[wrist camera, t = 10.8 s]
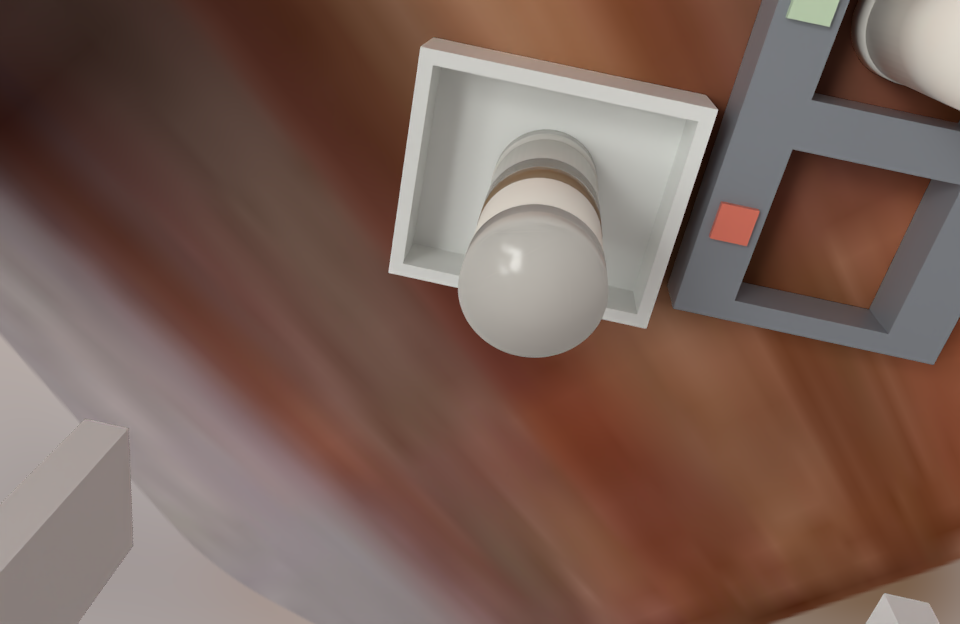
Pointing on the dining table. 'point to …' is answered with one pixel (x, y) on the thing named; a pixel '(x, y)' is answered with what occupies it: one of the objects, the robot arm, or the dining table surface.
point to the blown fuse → (537, 250)
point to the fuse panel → (832, 133)
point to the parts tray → (557, 106)
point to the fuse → (911, 44)
